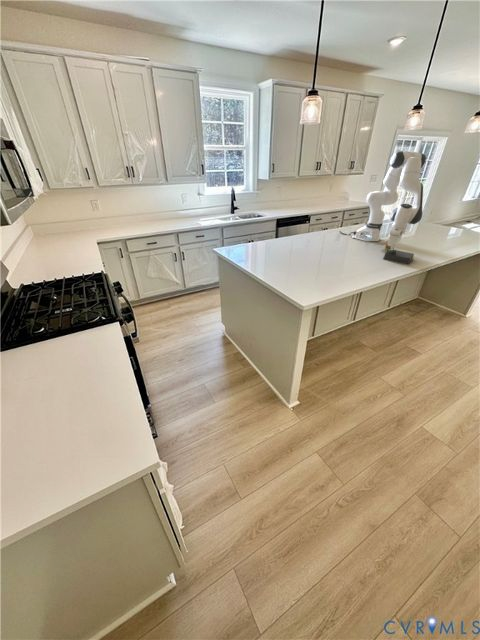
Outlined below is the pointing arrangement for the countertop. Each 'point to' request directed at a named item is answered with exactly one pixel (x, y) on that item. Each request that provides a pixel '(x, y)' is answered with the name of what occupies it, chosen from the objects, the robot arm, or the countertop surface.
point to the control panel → (398, 256)
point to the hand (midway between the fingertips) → (391, 249)
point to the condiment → (387, 247)
